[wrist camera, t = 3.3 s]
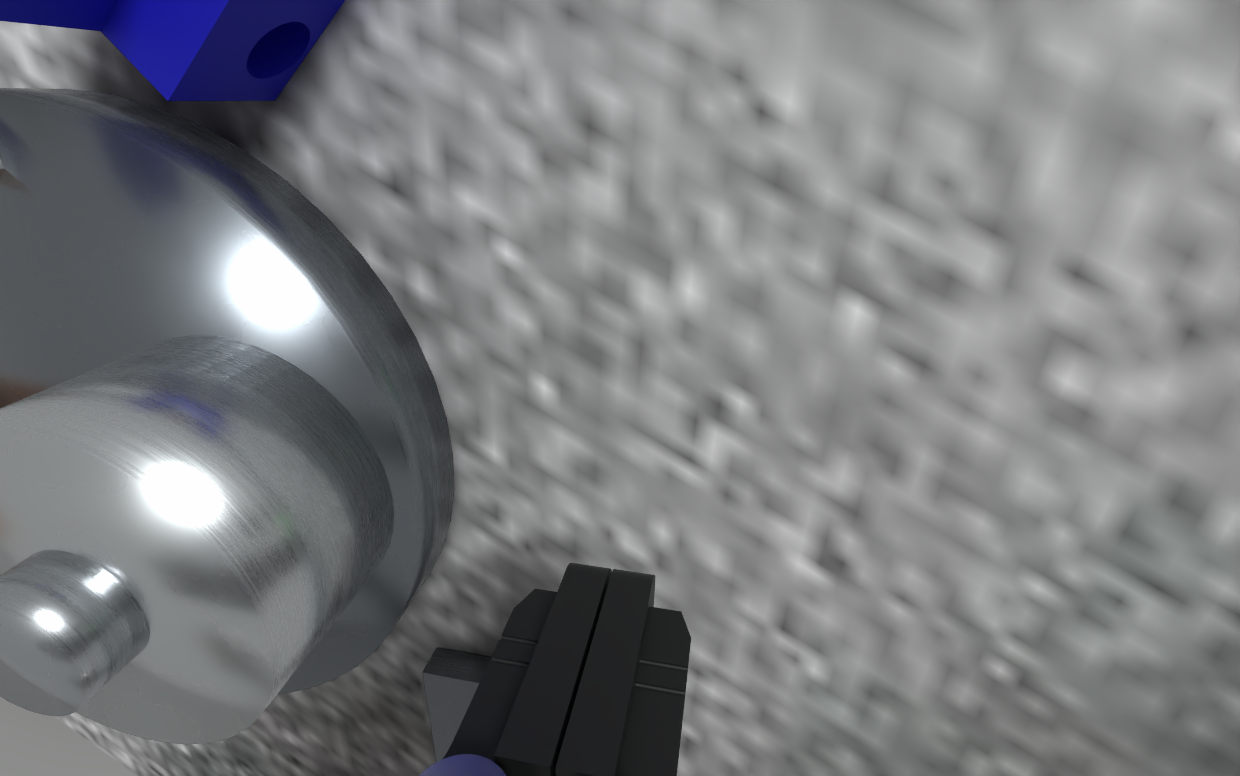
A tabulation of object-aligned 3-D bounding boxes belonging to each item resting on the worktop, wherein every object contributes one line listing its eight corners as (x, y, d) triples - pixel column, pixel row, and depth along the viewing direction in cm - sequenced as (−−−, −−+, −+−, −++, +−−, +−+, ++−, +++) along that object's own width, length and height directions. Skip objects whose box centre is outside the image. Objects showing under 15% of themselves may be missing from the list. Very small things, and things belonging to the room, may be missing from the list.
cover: (369, 351, 12) (135, 507, 8) (412, 616, 15) (263, 843, 11) (70, 320, 13) (-294, 440, 9) (165, 573, 16) (-67, 762, 12)
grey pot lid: (415, 99, 12) (-84, 101, 5) (477, 680, 19) (310, 1035, 12) (-220, 80, 14) (-1157, 64, 7) (39, 598, 21) (-317, 847, 14)
